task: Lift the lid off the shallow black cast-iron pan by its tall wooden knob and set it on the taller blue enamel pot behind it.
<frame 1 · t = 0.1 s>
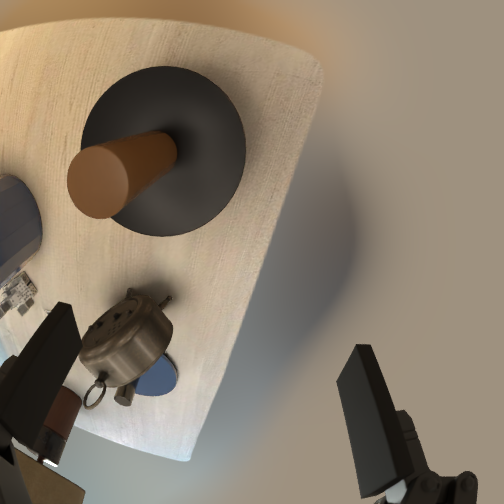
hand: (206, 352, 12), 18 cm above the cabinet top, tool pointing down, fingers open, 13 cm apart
pot lid: (134, 367, 39), point 1 cm above the cabinet top
lamp: (68, 394, 46), on the cabinet top
lid: (157, 152, 20), point 5 cm above the cabinet top, touching pan
alarm clock: (139, 300, 34), on the cabinet top
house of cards: (27, 300, 35), on the cabinet top
pot: (11, 218, 28), on the cabinet top
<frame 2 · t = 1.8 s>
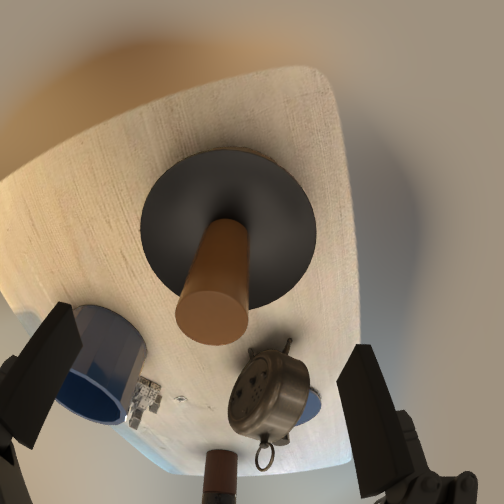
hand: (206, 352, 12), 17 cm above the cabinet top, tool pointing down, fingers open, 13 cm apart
pot lid: (278, 408, 41), point 1 cm above the cabinet top
lamp: (222, 454, 53), on the cabinet top
lid: (226, 237, 22), point 5 cm above the cabinet top, touching pan
alarm clock: (262, 353, 36), on the cabinet top
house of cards: (154, 396, 42), on the cabinet top
pot: (105, 340, 36), on the cabinet top
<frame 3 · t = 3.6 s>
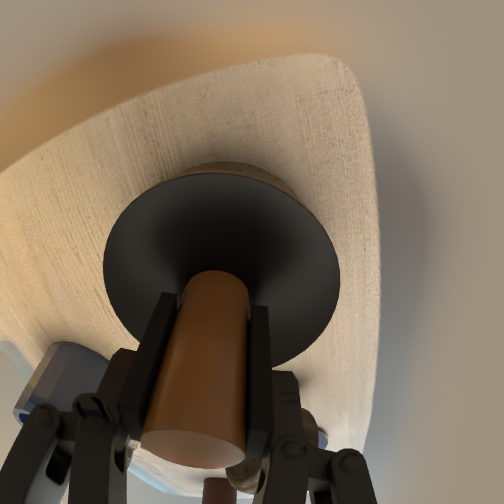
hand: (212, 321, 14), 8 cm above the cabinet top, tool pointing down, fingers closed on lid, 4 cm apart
lamp: (220, 481, 47), on the cabinet top
lid: (217, 291, 16), point 6 cm above the cabinet top, touching gripper, pan
alarm clock: (264, 398, 30), on the cabinet top
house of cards: (145, 431, 36), on the cabinet top
pan: (225, 248, 21), on the cabinet top
pot: (88, 377, 29), on the cabinet top
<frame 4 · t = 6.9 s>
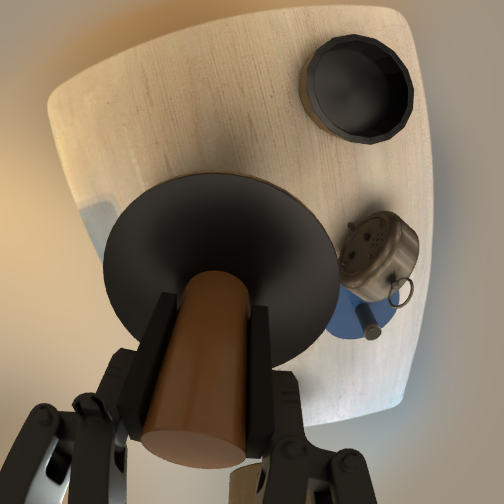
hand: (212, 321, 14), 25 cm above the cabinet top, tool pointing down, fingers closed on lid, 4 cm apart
pot lid: (361, 306, 44), point 1 cm above the cabinet top
lamp: (282, 391, 56), on the cabinet top
lid: (217, 291, 16), point 22 cm above the cabinet top, touching gripper
alarm clock: (358, 231, 39), on the cabinet top
pan: (348, 90, 30), on the cabinet top
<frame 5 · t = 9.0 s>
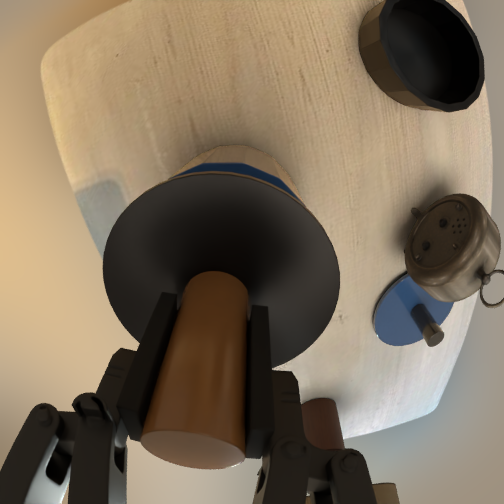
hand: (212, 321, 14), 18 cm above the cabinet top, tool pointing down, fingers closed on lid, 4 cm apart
pot lid: (416, 308, 35), point 1 cm above the cabinet top
lamp: (316, 407, 47), on the cabinet top
lid: (217, 292, 16), point 15 cm above the cabinet top, touching gripper
alarm clock: (420, 219, 30), on the cabinet top
pan: (411, 54, 21), on the cabinet top
pot: (234, 205, 30), on the cabinet top
when the fingers open (13 cm above the cabinet top, at t = 10.3 s): lid stays where it is, resting on pot.
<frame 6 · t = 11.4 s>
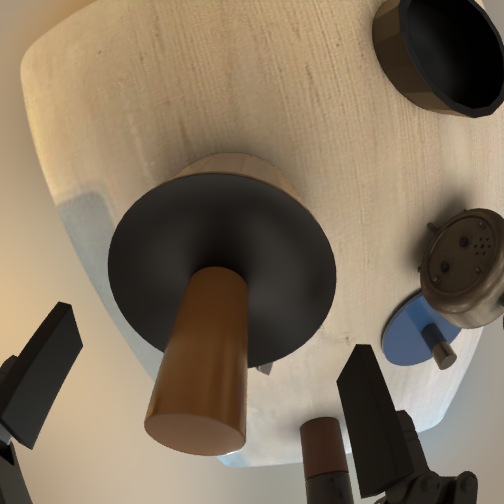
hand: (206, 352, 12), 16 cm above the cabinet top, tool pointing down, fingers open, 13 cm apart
pot lid: (427, 327, 32), point 1 cm above the cabinet top
lamp: (319, 425, 43), on the cabinet top
lid: (218, 287, 17), point 10 cm above the cabinet top, touching pot
alarm clock: (436, 234, 27), on the cabinet top
pan: (429, 51, 18), on the cabinet top
pot: (231, 221, 26), on the cabinet top
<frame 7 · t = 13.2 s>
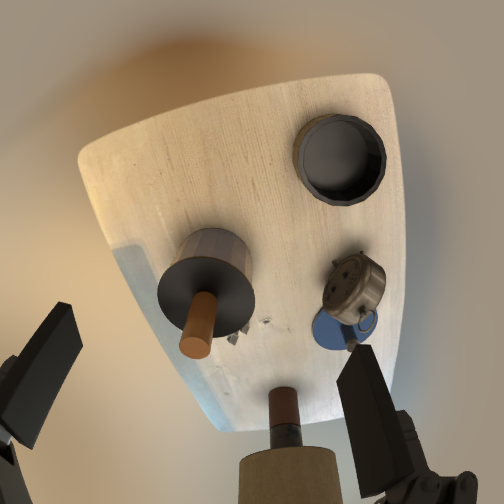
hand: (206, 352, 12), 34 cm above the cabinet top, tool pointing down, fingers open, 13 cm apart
pot lid: (345, 324, 54), point 1 cm above the cabinet top
lamp: (282, 393, 66), on the cabinet top
lid: (205, 299, 39), point 10 cm above the cabinet top, touching pot
alarm clock: (340, 266, 49), on the cabinet top
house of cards: (241, 323, 55), on the cabinet top
pan: (333, 155, 41), on the cabinet top
pot: (214, 262, 49), on the cabinet top
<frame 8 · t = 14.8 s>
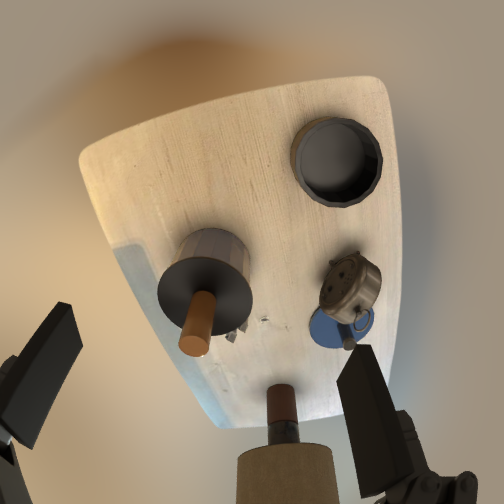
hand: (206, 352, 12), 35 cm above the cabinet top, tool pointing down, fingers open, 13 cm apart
pot lid: (342, 323, 55), point 1 cm above the cabinet top
lamp: (280, 391, 67), on the cabinet top
lid: (204, 298, 40), point 10 cm above the cabinet top, touching pot
alarm clock: (337, 266, 50), on the cabinet top
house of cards: (239, 321, 56), on the cabinet top
pan: (330, 157, 41), on the cabinet top
pot: (213, 262, 50), on the cabinet top
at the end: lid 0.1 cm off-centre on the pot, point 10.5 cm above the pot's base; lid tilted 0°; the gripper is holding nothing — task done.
